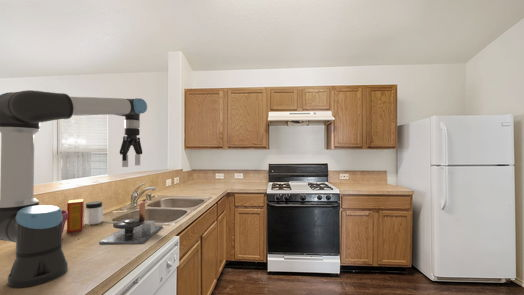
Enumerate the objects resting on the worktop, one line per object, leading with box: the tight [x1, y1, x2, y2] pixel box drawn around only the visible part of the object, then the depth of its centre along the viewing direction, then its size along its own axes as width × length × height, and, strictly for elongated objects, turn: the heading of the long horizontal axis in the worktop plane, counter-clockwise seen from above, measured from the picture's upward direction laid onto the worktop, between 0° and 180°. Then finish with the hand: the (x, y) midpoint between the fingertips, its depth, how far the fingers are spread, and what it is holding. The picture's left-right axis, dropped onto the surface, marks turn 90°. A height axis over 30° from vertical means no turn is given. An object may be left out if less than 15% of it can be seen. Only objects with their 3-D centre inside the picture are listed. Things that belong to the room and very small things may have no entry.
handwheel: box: [112, 200, 146, 233], centre depth 125 cm, size 14×17×15 cm
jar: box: [84, 200, 104, 226], centre depth 144 cm, size 9×8×12 cm
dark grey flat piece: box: [98, 220, 163, 245], centre depth 123 cm, size 24×20×6 cm
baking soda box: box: [66, 198, 85, 233], centre depth 132 cm, size 10×6×16 cm
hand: (131, 166), depth 133 cm, fingers open, 13 cm apart
